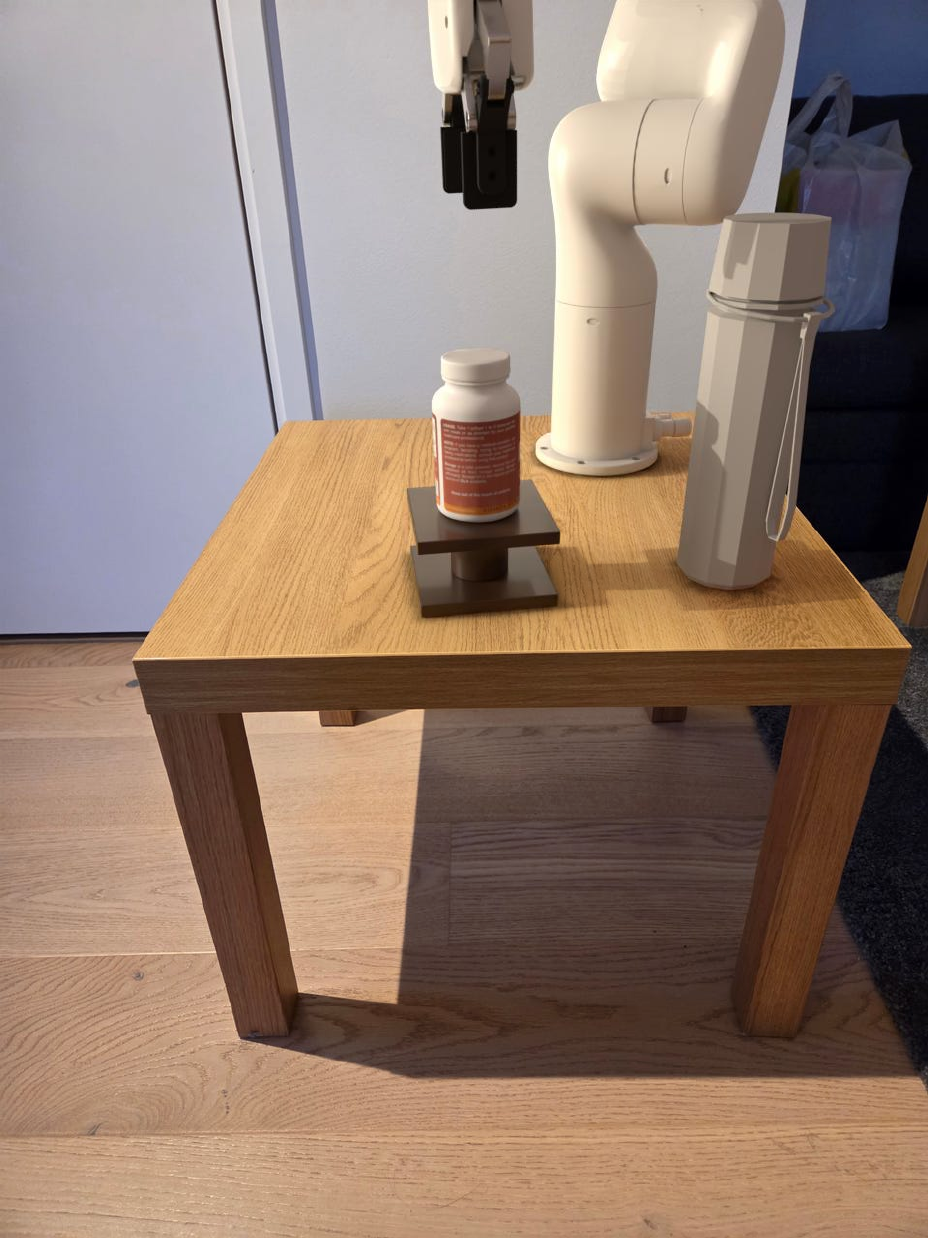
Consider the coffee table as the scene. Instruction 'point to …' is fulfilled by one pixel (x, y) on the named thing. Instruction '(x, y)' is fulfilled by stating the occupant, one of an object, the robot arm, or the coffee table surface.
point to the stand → (481, 557)
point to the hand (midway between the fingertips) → (477, 199)
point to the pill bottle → (476, 436)
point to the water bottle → (752, 395)
